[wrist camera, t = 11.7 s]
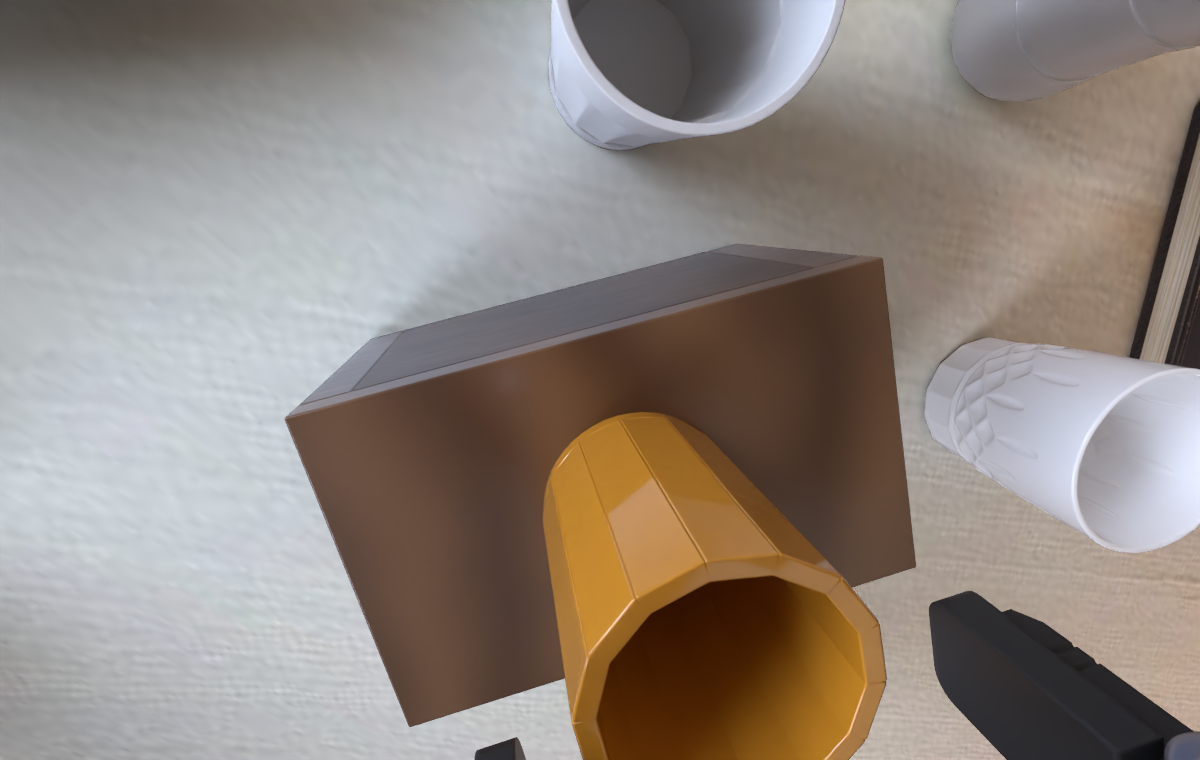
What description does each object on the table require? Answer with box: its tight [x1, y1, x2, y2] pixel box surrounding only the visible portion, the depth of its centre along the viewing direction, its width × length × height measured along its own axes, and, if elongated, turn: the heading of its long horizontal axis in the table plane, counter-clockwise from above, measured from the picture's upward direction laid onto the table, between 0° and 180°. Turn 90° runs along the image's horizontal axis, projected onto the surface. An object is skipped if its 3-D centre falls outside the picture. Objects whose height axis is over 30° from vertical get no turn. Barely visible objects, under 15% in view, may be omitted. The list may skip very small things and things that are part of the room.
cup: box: [548, 0, 845, 150], centre depth 22 cm, size 8×8×12 cm
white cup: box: [924, 337, 1200, 553], centre depth 30 cm, size 8×8×10 cm
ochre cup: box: [542, 412, 887, 760], centre depth 15 cm, size 6×6×8 cm
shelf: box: [285, 244, 916, 727], centre depth 25 cm, size 18×11×12 cm, turn 104°
